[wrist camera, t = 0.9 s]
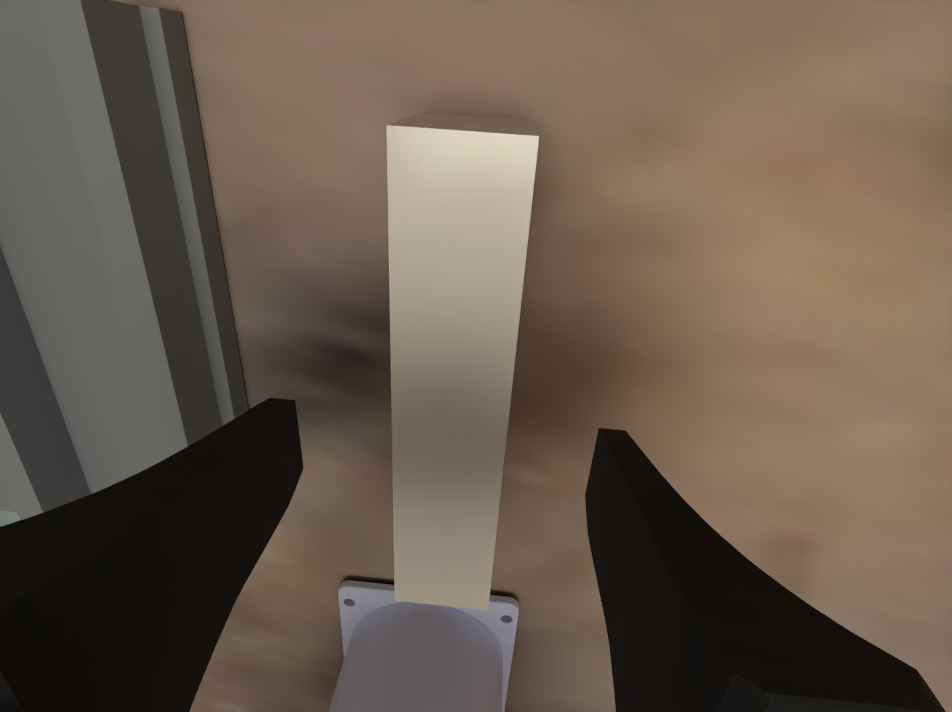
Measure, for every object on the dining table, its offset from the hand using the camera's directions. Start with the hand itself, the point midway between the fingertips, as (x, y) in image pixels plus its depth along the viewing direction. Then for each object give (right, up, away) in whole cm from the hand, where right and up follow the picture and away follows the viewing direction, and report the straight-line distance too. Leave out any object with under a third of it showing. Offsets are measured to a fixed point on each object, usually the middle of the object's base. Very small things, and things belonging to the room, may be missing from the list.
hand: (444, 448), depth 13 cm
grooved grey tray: (-15, +4, +6) cm, 16 cm away
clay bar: (0, +3, +5) cm, 6 cm away
